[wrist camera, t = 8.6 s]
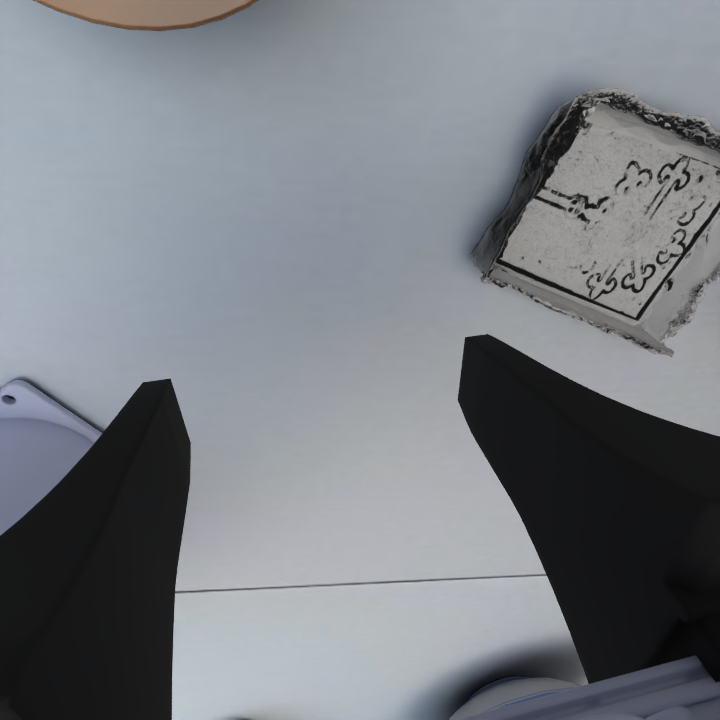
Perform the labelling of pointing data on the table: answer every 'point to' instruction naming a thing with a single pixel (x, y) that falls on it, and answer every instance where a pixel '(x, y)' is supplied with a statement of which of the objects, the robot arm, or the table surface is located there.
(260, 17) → the table surface
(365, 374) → the table surface
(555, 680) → the ramen bowl
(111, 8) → the knobbed round lid
